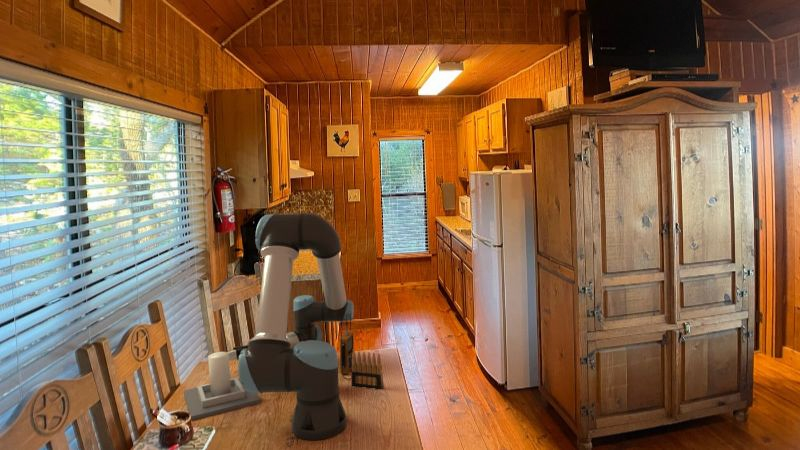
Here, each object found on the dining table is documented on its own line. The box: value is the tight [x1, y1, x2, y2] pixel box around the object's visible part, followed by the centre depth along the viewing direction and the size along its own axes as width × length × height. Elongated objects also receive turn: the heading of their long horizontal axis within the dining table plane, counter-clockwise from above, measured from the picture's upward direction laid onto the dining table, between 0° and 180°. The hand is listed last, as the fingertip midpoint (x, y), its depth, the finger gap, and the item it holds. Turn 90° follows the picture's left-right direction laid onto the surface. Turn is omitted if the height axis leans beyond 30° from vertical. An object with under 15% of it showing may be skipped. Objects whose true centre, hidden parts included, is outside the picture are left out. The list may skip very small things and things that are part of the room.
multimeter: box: [339, 315, 355, 380], centre depth 167 cm, size 15×10×20 cm
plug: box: [207, 351, 231, 397], centre depth 150 cm, size 6×6×13 cm
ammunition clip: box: [351, 350, 384, 390], centre depth 155 cm, size 11×2×12 cm, turn 72°
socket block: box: [183, 377, 261, 421], centre depth 150 cm, size 20×20×3 cm
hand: (228, 364), depth 152 cm, fingers open, 13 cm apart
